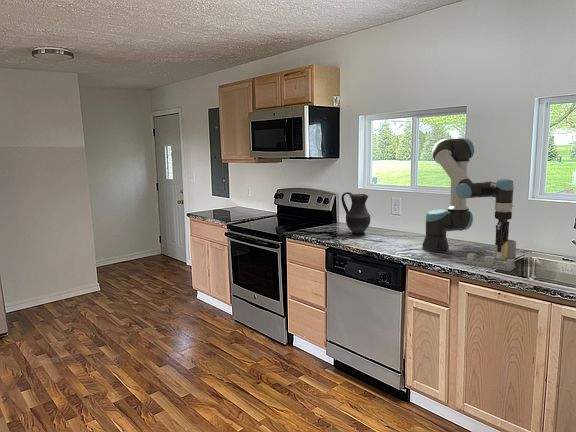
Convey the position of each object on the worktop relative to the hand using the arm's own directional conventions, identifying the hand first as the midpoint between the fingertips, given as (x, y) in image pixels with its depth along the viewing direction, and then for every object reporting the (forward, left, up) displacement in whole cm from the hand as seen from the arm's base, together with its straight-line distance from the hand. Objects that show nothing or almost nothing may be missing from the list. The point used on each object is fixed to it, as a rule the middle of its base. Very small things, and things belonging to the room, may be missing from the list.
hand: (501, 256), depth 211 cm
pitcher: (-103, +23, -6) cm, 106 cm away
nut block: (0, 0, 0) cm, 0 cm away
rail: (-5, 0, -6) cm, 8 cm away
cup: (-3, +21, -6) cm, 22 cm away
